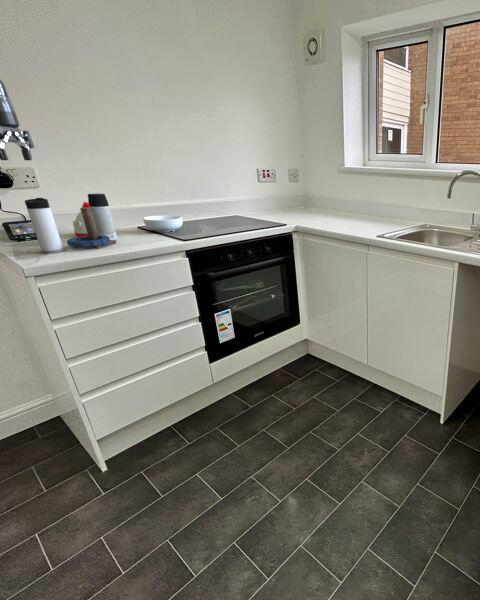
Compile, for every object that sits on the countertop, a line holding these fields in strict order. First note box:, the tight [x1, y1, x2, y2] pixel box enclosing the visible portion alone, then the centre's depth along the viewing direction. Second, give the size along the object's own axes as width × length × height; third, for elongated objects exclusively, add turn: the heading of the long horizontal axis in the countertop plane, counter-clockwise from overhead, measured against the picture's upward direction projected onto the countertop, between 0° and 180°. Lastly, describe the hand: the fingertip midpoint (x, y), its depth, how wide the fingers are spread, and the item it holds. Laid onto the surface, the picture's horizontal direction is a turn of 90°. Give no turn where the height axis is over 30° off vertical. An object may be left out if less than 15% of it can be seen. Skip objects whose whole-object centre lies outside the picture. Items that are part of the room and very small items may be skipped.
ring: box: [66, 236, 110, 247], centre depth 144 cm, size 13×13×2 cm
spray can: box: [87, 193, 118, 241], centre depth 154 cm, size 7×7×20 cm
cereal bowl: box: [142, 215, 183, 233], centre depth 179 cm, size 17×17×7 cm
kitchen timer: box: [72, 201, 98, 237], centre depth 165 cm, size 14×14×15 cm
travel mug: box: [24, 197, 65, 254], centre depth 133 cm, size 6×7×20 cm
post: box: [73, 207, 117, 249], centre depth 145 cm, size 10×10×16 cm
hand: (16, 160), depth 128 cm, fingers open, 8 cm apart
